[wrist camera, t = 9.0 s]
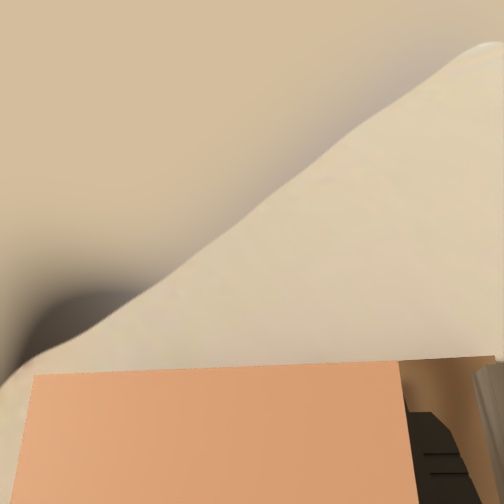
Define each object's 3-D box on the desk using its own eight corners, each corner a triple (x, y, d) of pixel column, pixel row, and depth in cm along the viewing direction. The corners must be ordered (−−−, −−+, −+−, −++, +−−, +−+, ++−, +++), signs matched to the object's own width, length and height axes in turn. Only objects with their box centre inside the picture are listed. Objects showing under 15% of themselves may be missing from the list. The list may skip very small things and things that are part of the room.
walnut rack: (105, 579, 25) (63, 601, 21) (124, 380, 30) (92, 367, 26) (540, 582, 23) (586, 608, 18) (486, 360, 27) (513, 343, 23)
